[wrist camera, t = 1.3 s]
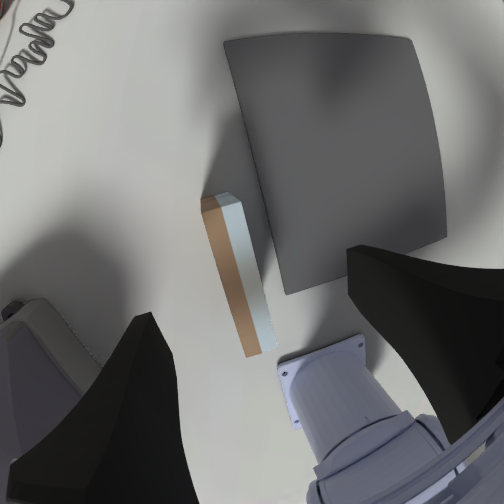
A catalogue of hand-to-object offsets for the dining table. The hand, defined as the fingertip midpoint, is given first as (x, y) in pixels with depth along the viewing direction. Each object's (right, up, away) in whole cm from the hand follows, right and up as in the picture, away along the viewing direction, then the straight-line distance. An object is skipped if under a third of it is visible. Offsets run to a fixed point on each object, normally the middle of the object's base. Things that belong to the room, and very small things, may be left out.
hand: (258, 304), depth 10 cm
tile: (-2, +2, +10) cm, 10 cm away
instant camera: (-20, -13, +11) cm, 26 cm away
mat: (+8, +9, +9) cm, 15 cm away
